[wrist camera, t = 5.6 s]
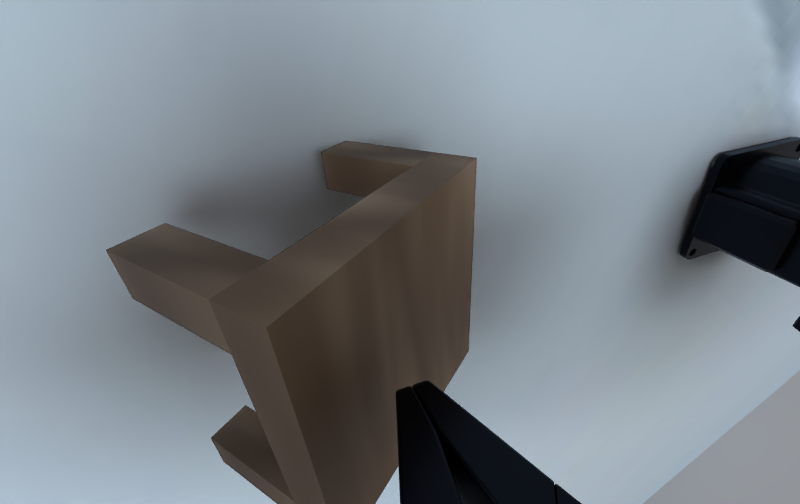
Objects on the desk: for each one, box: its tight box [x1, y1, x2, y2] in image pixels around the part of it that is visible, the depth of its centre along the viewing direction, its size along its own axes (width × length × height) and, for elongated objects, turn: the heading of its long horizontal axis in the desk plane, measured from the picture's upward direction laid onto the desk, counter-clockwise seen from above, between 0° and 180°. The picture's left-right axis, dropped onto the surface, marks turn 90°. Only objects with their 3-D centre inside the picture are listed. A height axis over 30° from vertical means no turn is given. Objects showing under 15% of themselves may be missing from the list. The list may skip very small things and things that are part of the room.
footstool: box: [106, 141, 477, 504], centre depth 12 cm, size 5×8×8 cm
